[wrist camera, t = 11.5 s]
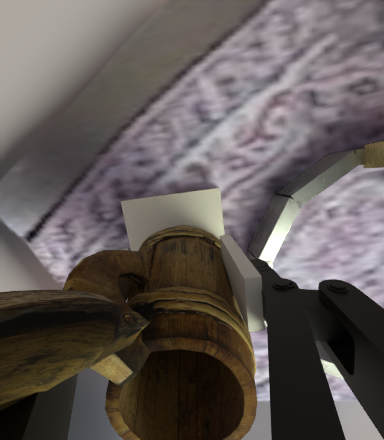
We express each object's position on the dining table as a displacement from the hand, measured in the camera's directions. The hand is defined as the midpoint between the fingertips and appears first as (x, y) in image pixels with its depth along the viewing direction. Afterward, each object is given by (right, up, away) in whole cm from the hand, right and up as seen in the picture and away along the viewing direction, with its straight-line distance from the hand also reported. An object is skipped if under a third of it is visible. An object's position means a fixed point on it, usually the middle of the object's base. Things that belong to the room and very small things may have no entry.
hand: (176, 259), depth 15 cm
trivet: (0, +1, +5) cm, 5 cm away
